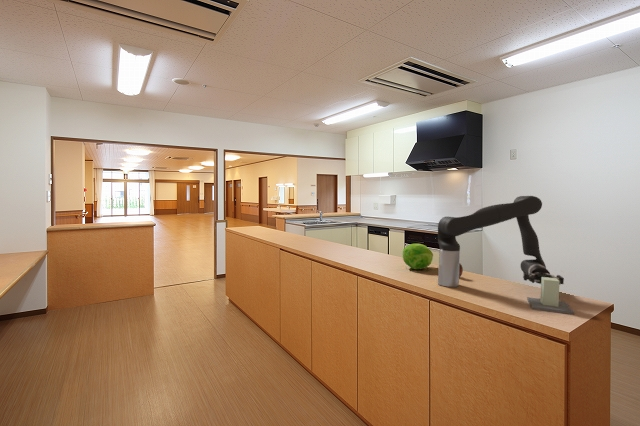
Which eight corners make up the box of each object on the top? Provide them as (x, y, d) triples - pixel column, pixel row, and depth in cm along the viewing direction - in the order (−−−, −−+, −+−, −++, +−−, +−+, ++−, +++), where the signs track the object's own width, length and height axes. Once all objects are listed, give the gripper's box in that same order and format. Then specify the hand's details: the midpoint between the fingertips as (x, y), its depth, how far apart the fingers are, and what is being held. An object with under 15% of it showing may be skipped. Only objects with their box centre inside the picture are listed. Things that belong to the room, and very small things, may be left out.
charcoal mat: (532, 309, 125) (532, 306, 125) (527, 299, 137) (527, 297, 137) (573, 314, 120) (574, 311, 120) (564, 303, 132) (564, 301, 132)
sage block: (542, 304, 127) (544, 279, 127) (540, 301, 132) (541, 276, 131) (558, 306, 125) (559, 281, 125) (555, 303, 130) (556, 278, 129)
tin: (438, 272, 184) (439, 258, 183) (443, 272, 185) (443, 257, 184) (458, 279, 169) (459, 263, 169) (463, 278, 171) (464, 263, 170)
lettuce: (438, 272, 193) (443, 247, 192) (416, 273, 182) (421, 247, 180) (415, 264, 207) (420, 241, 205) (394, 265, 195) (398, 240, 194)
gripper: (521, 263, 152) (526, 271, 138) (557, 267, 146) (567, 274, 132) (520, 279, 153) (525, 288, 138) (557, 283, 147) (566, 293, 132)
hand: (545, 281), depth 135 cm, fingers open, 8 cm apart
